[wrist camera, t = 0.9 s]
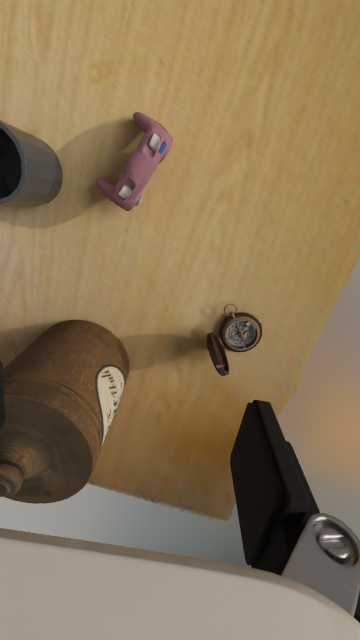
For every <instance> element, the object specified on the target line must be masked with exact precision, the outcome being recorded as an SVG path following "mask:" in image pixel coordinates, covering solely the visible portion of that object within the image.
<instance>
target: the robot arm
mask: <svg viewBox="0 0 360 640" xmlns="http://www.w3.org/2000/svg"><path fill="white" fill-rule="evenodd" d="M5 418H6V416H5V401H4V387H3V372H2V363H1V361H0V430H1V428H2V427H3V425H4V423H5ZM230 465H231V472H232V478H233V485H234V491H235V497H236V504H237V509H238V516H239V523H240V529H241V536H242V542H243V549H244V555H245V560H246V563H247V565H251V566H252V568H250V567H246V566H242V565H236V564H229V563H224V562H218V561H212V560H207V559H201V558H195V557H189V556H183V555H176V554H170V553H163V552H157V551H150V550H143V549H137V548H130V547H124V546H118V545H111V544H104V543H97V542H90V541H84V540H77V539H71V538H64V537H57V536H50V535H44V534H36V533H30V532H23V531H16V530H9V529H2V528H0V640H360V541H359V539H358V538H357V536H356V535H355V534H354V533H353V531H352V530H351V529H350V528H349V527H348V526H347V525H345V524H344V523H343V522H342V521H340V520H339V519H337V518H335V517H333V516H331V515H328V514H324V513H320V511H319V509H318V506H317V504H316V502H315V499H314V497H313V495H312V493H311V490H310V488H309V485H308V483H307V481H306V478H305V476H304V474H303V471H302V469H301V466H300V464H299V462H298V459H297V457H296V455H295V452H294V450H293V448H292V446H291V444H290V443H289V442H287V441H285V438H284V436H283V433H282V431H281V428H280V426H279V423H278V421H277V419H276V416H275V414H274V411H273V409H272V406H271V404H270V403H269V402H265V401H259V400H254V401H253V402H252V403H248V404H247V407H246V410H245V413H244V416H243V419H242V422H241V425H240V428H239V431H238V434H237V437H236V440H235V444H234V447H233V450H232V453H231V457H230Z"/></svg>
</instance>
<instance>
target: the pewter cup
mask: <svg viewBox="0 0 360 640" xmlns="http://www.w3.org/2000/svg"><path fill="white" fill-rule="evenodd" d="M61 185H62V169H61V165H60V162H59V160H58V157H57V156H56V154H55V152H54V151H53V150H52V149H51V147H50V146H49V145H48V144H46V143H45V142H44V141H42V140H41V139H39V138H37V137H35V136H33V135H31V134H29V133H27V132H25V131H23V130H21V129H18V128H16V127H14V126H12V125H10V124H8V123H6V122H3V121H1V120H0V205H16V206H37V205H43V204H46V203H48V202H50V201H52V200H53V199H54V198H55V197H56V196H57V194H58V193H59V190H60V188H61Z"/></svg>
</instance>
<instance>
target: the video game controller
mask: <svg viewBox="0 0 360 640" xmlns="http://www.w3.org/2000/svg"><path fill="white" fill-rule="evenodd" d="M133 118H134V121H135V123H136V124H137V125H138V126H139V127H140V128H141V129H142V130H143V131H144V133H145V135H144V137H143V139H142V140H141V142H140V144H139V146H138V148H137V149H136V150H135V151H134V152H133V153H132V154H131V155H130V156H129V158H128V160H127V161H126V164H125V167H124V172H123V174H122V175H121V177H120V179H119V180H118V182H117V184H116V186H114V185H112V184H110V183H109V182H107V181H105V180H103V179H99V180H97V182H96V183H97V186H98V188H99V189H100V190H101V191H102V192H103V193H104V194H105V195H106V196H107V197H108V198H109V199H110V200H111V201H112V202H114V203H115V204H116V205H118V206H120V207H121V208H123V209H125V210H126V211H129V210H131V209H132V208H133V207H134V206H137V205H139V204H140V202H141V196H140V195H141V193H142V189H143V188H144V187H145V185H146V184H147V182H148V180H149V179H150V177H151V176H152V174H153V172H154V171H155V169H156V167H157V165H158V164H159V163H160V162H161V161H162V160H163V159H164V158H165V157H166V155H167V154H168V152H169V150H170V148H171V146H172V143H173V138H172V136H171V135H170V134H169V133H168V132H167V131H166V130H165V128H164V127H163V126H162V125H161V124H159V123H158V122H156V121H155V120H153V119H151V118H149V117H148V116H146V115H144V114H143V113H140V112H135V113H134V114H133Z"/></svg>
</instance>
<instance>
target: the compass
mask: <svg viewBox="0 0 360 640" xmlns="http://www.w3.org/2000/svg"><path fill="white" fill-rule="evenodd" d="M228 305H233V306H235V305H234V304H228ZM228 305H226V306H225V308H226V307H227V306H228ZM235 307H236V306H235ZM225 308H224V313H225V314H226V312H225ZM236 312H237V307H236ZM236 312H235V313H234V312H230V314H231V315H228V314H226V315H227V316H229V317H228V318H226V319H225V320H224V322H223V323H222V324H221V327H220V338H218V336H217V335H216V334H215V333H214V332H212V333H209V334H208V335H207V346H208V350H209V354H210V357H211V359H212V362H213V364H214V366H215V368H216V370H217V371H218V373H219V374H220V375H221V376H225V375H228V374H229V365H228V361H227V357H226V354H225V351H224V348H223V345H224V346H225V347H226V348H228V349H229V350H231V351H234V352H246V351H248V350H251V349H252V348H254V347H255V346H256V345H257V344H258V343H259V341H260V339H261V336H262V328H261V326H262V325H261V323H259V321H258V320H257V319H256V318H255V317H254V316H253V315H250V314H248V313H236Z"/></svg>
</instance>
